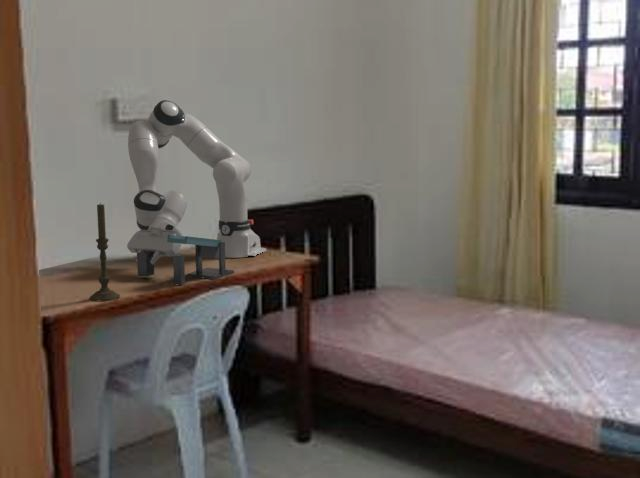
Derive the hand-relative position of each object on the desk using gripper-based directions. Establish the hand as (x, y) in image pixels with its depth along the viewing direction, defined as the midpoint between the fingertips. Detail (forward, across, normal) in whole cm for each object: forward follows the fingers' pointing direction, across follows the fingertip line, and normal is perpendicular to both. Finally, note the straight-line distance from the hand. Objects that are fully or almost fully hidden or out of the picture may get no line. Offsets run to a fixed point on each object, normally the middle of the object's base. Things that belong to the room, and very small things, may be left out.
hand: (144, 263), depth 281 cm
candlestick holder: (+24, +8, -16) cm, 30 cm away
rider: (+3, 0, +4) cm, 4 cm away
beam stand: (-2, +17, +10) cm, 20 cm away
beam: (-7, +17, +3) cm, 18 cm away
